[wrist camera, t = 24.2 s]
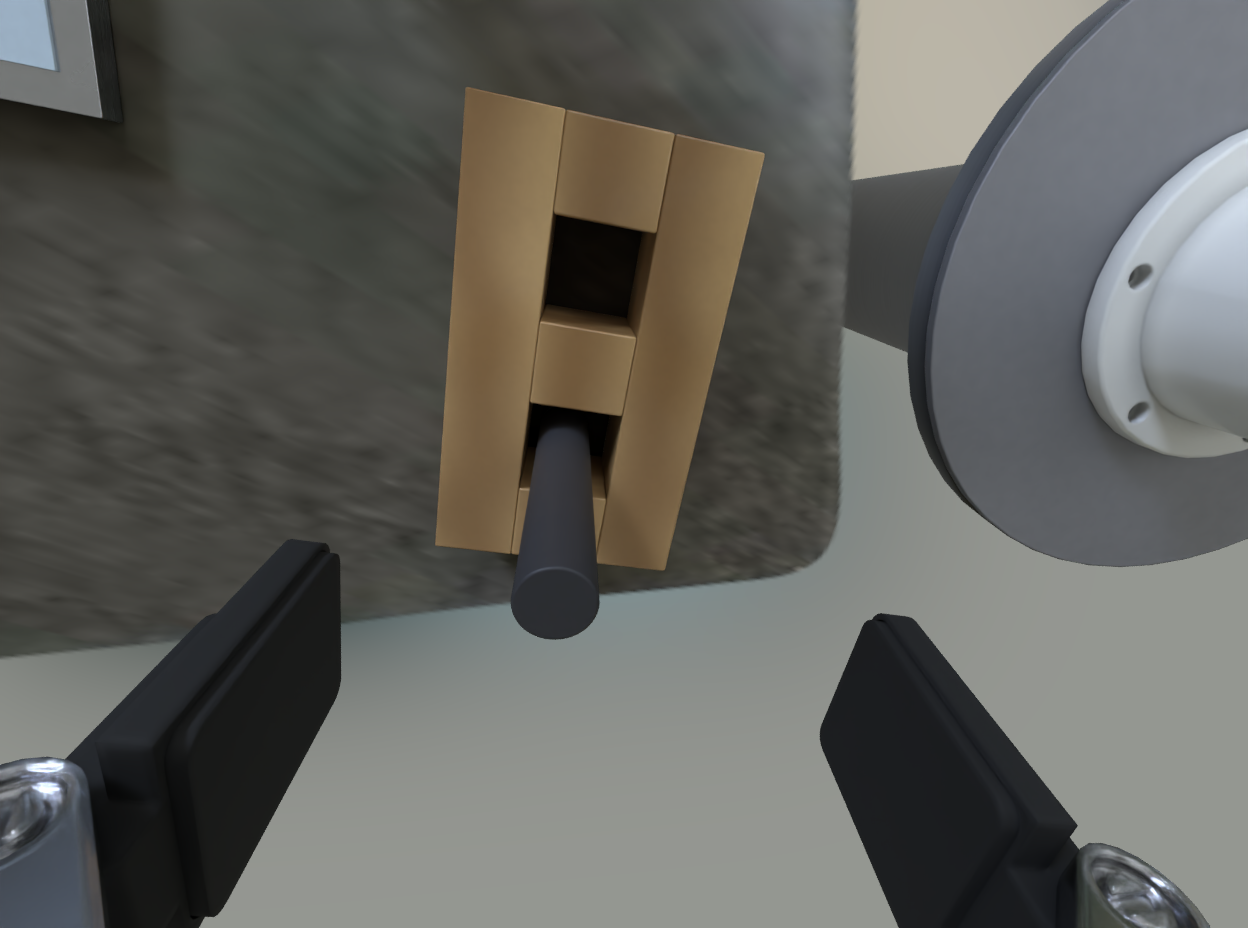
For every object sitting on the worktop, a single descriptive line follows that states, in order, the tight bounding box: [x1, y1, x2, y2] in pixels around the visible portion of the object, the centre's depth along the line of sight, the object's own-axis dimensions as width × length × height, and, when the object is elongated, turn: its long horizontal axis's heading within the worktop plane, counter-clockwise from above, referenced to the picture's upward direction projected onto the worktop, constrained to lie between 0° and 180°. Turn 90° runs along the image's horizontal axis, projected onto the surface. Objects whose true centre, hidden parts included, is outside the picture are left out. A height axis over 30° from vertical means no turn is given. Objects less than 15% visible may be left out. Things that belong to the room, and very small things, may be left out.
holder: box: [435, 87, 765, 571], centre depth 20 cm, size 8×14×4 cm, turn 170°
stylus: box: [511, 406, 599, 640], centre depth 17 cm, size 2×2×12 cm
